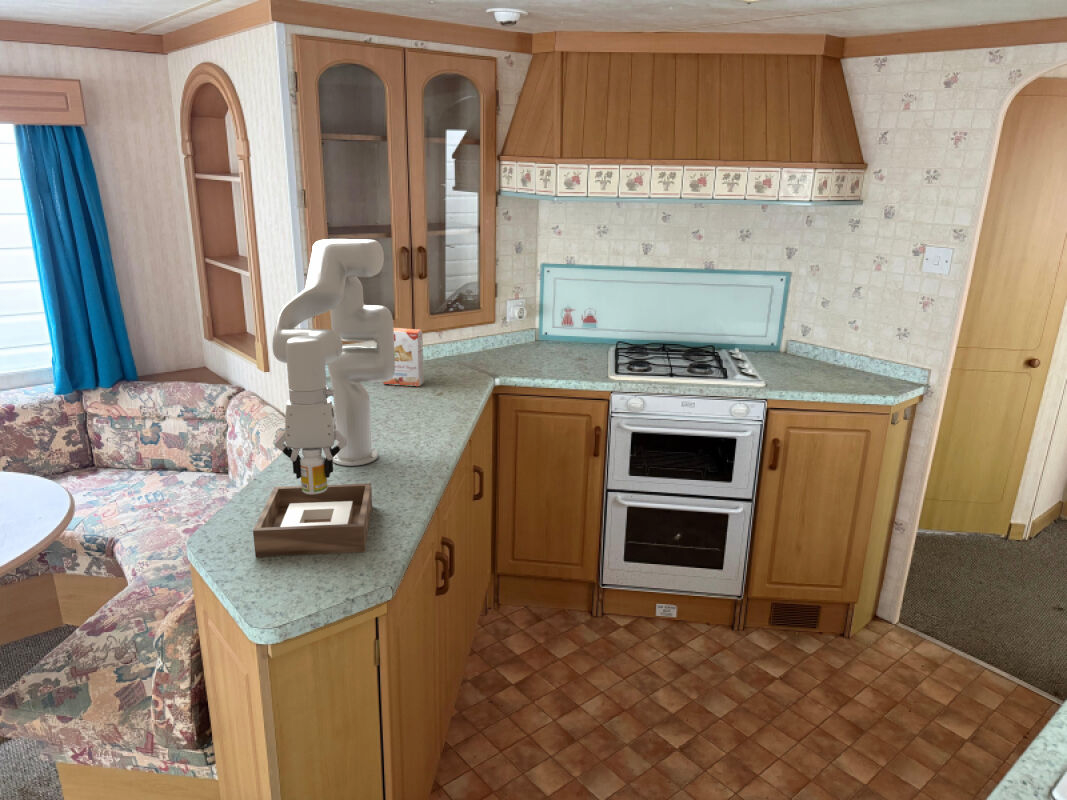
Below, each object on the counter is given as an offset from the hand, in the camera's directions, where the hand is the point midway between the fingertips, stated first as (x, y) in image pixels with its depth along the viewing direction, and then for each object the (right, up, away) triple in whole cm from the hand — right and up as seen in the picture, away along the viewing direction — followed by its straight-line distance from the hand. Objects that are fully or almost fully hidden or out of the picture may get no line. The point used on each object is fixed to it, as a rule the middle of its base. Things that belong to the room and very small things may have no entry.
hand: (313, 475), depth 161 cm
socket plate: (0, -13, +4) cm, 13 cm away
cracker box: (-1, +22, +116) cm, 118 cm away
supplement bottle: (0, -3, +1) cm, 4 cm away
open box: (0, -13, +4) cm, 13 cm away
